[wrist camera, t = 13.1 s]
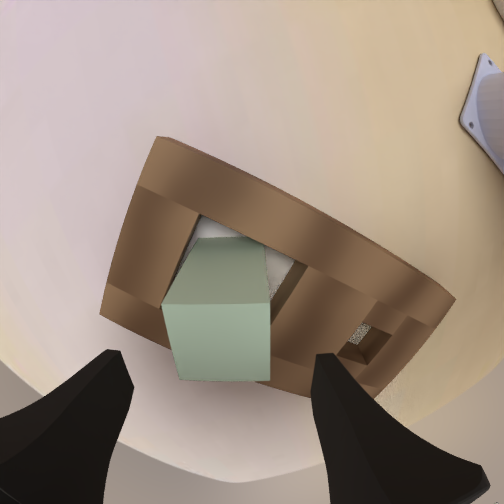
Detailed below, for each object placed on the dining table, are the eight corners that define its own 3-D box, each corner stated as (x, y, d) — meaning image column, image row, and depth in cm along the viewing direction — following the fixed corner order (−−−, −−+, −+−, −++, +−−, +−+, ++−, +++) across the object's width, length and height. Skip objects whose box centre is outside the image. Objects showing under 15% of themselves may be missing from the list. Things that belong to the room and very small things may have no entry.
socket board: (439, 284, 19) (456, 299, 16) (355, 389, 22) (362, 409, 20) (170, 137, 15) (156, 136, 13) (113, 296, 19) (99, 314, 17)
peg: (262, 235, 18) (270, 303, 10) (264, 293, 19) (270, 380, 11) (198, 238, 18) (161, 304, 10) (204, 294, 19) (179, 379, 11)
